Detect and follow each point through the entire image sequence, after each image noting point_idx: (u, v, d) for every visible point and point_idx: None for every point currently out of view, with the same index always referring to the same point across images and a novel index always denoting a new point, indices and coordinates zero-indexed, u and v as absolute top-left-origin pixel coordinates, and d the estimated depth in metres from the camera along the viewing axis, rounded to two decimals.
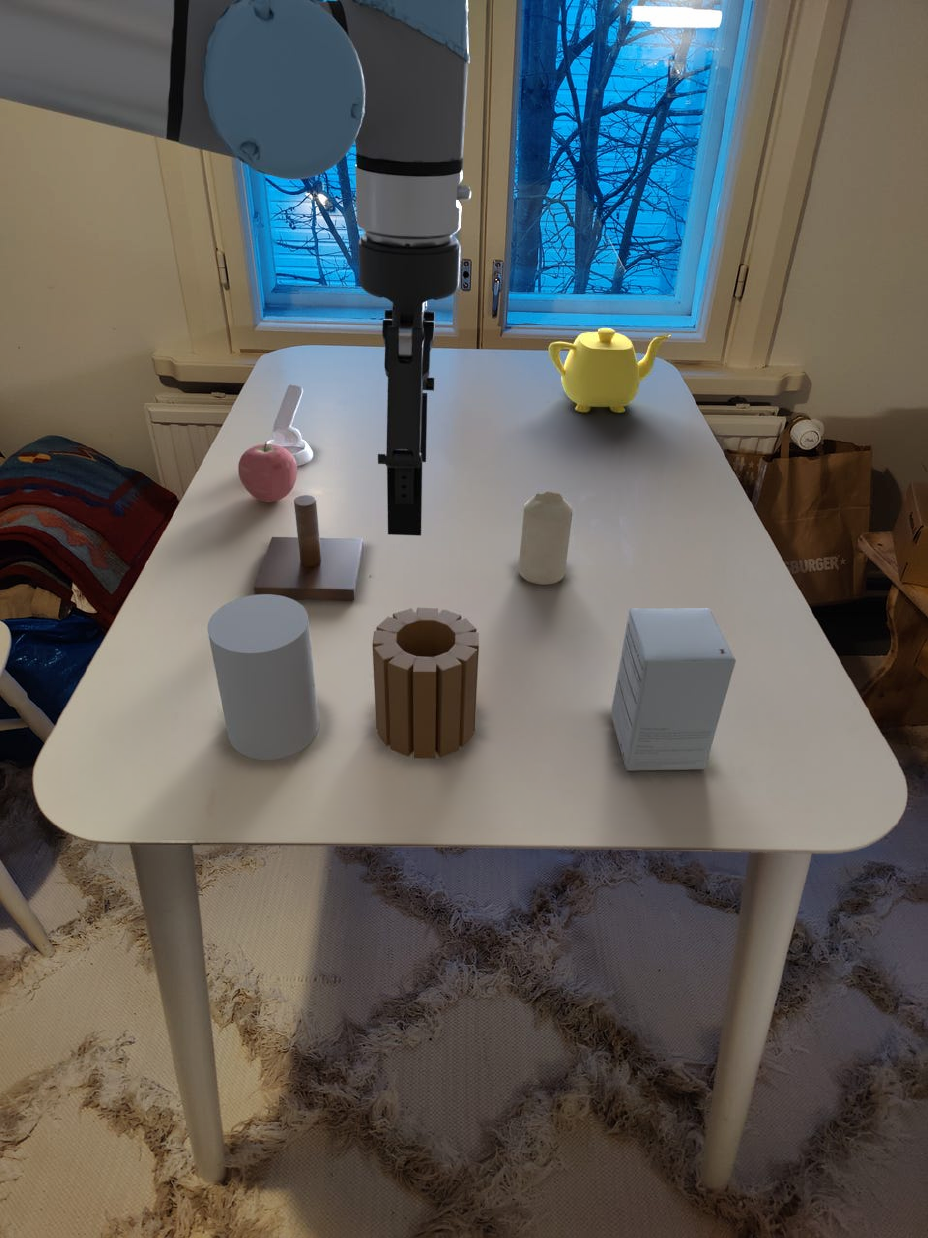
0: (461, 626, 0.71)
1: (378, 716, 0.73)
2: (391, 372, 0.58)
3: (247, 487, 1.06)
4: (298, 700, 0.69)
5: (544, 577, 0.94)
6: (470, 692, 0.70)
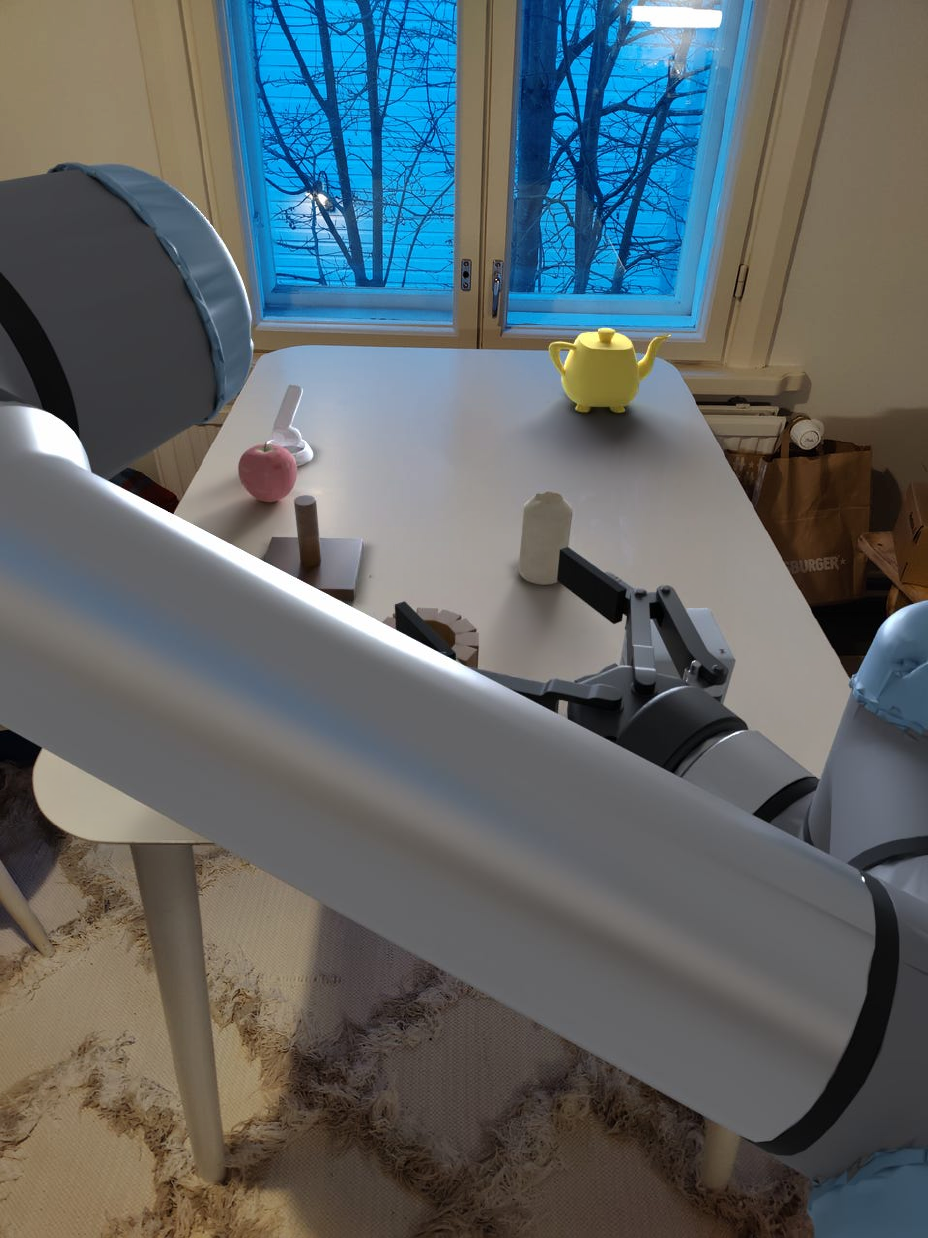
0: (461, 626, 0.71)
1: None
2: None
3: (247, 487, 1.06)
4: None
5: (544, 576, 0.94)
6: None
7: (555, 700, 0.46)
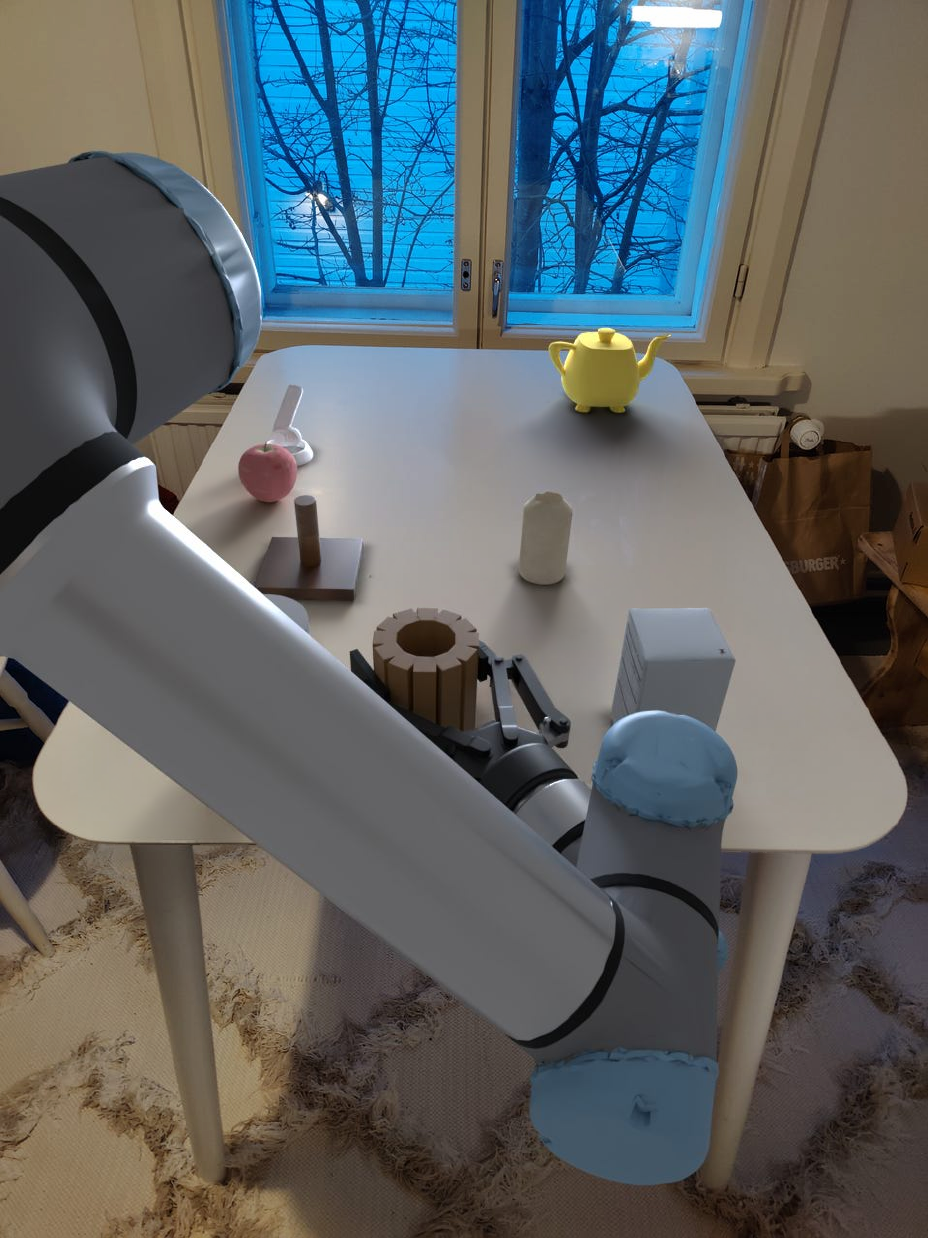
0: (461, 626, 0.71)
1: None
2: None
3: (247, 487, 1.06)
4: None
5: (544, 577, 0.94)
6: (470, 692, 0.70)
7: (445, 742, 0.64)
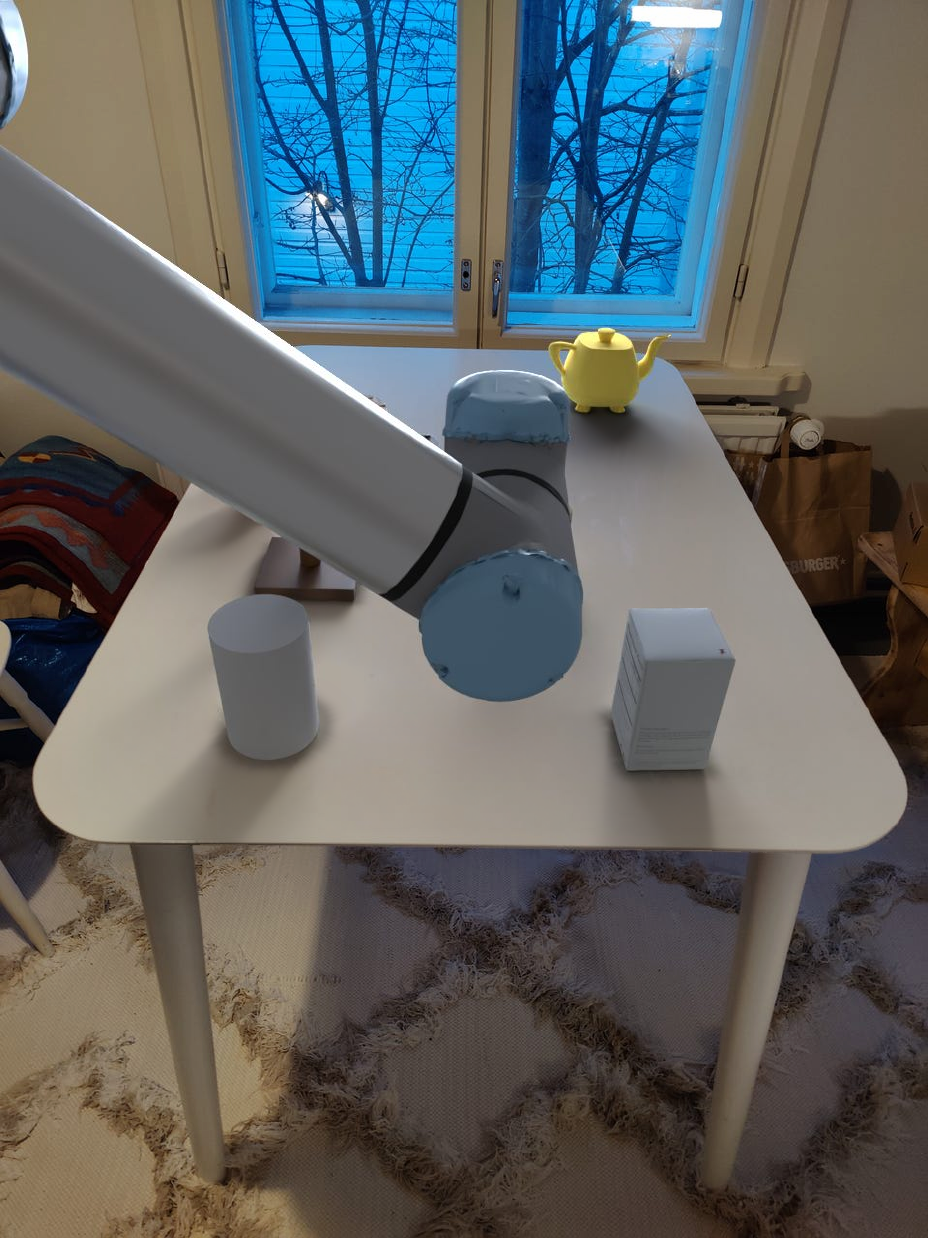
0: None
1: None
2: None
3: None
4: (298, 700, 0.69)
5: None
6: None
7: None
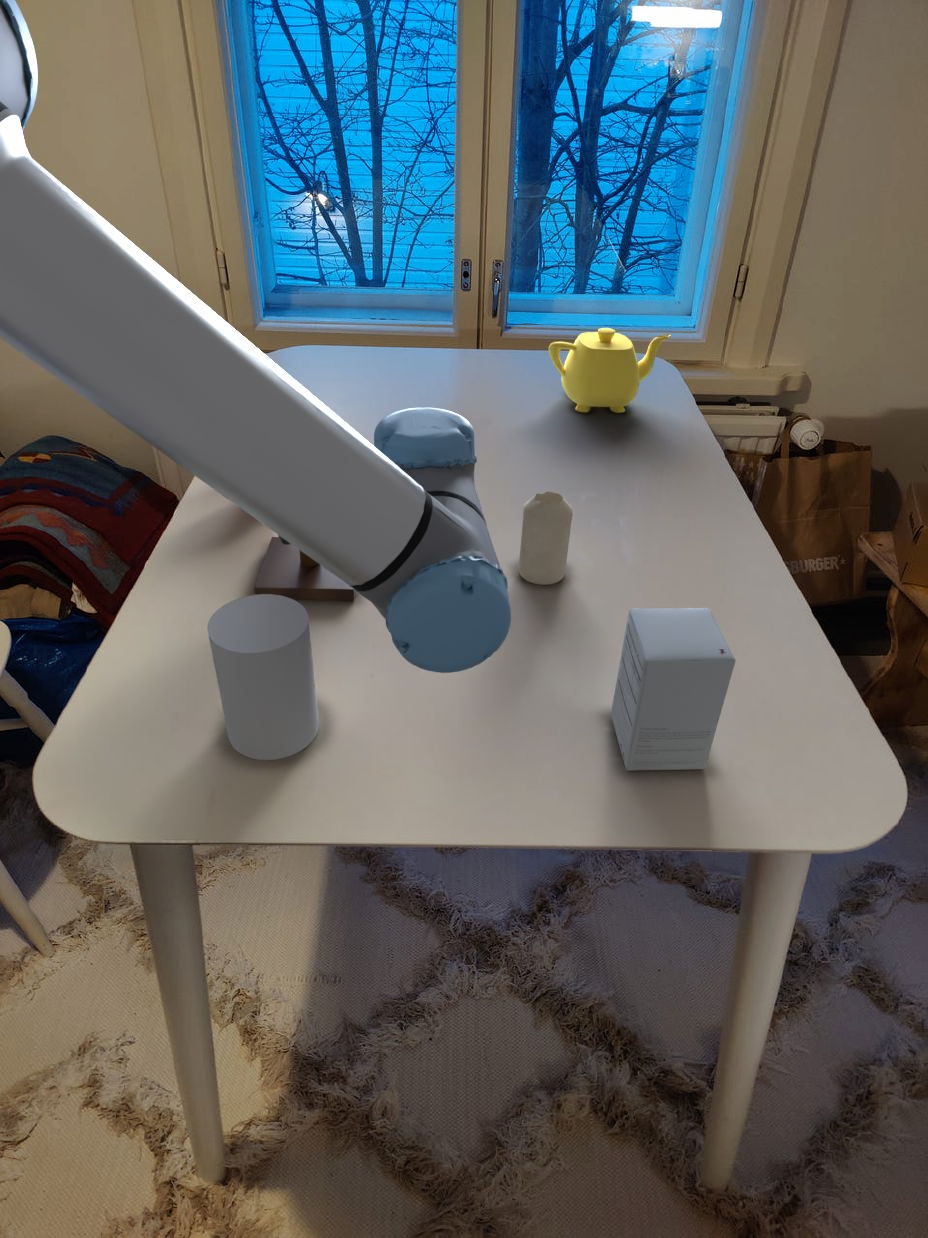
0: None
1: None
2: None
3: None
4: (298, 700, 0.69)
5: (544, 577, 0.94)
6: None
7: None
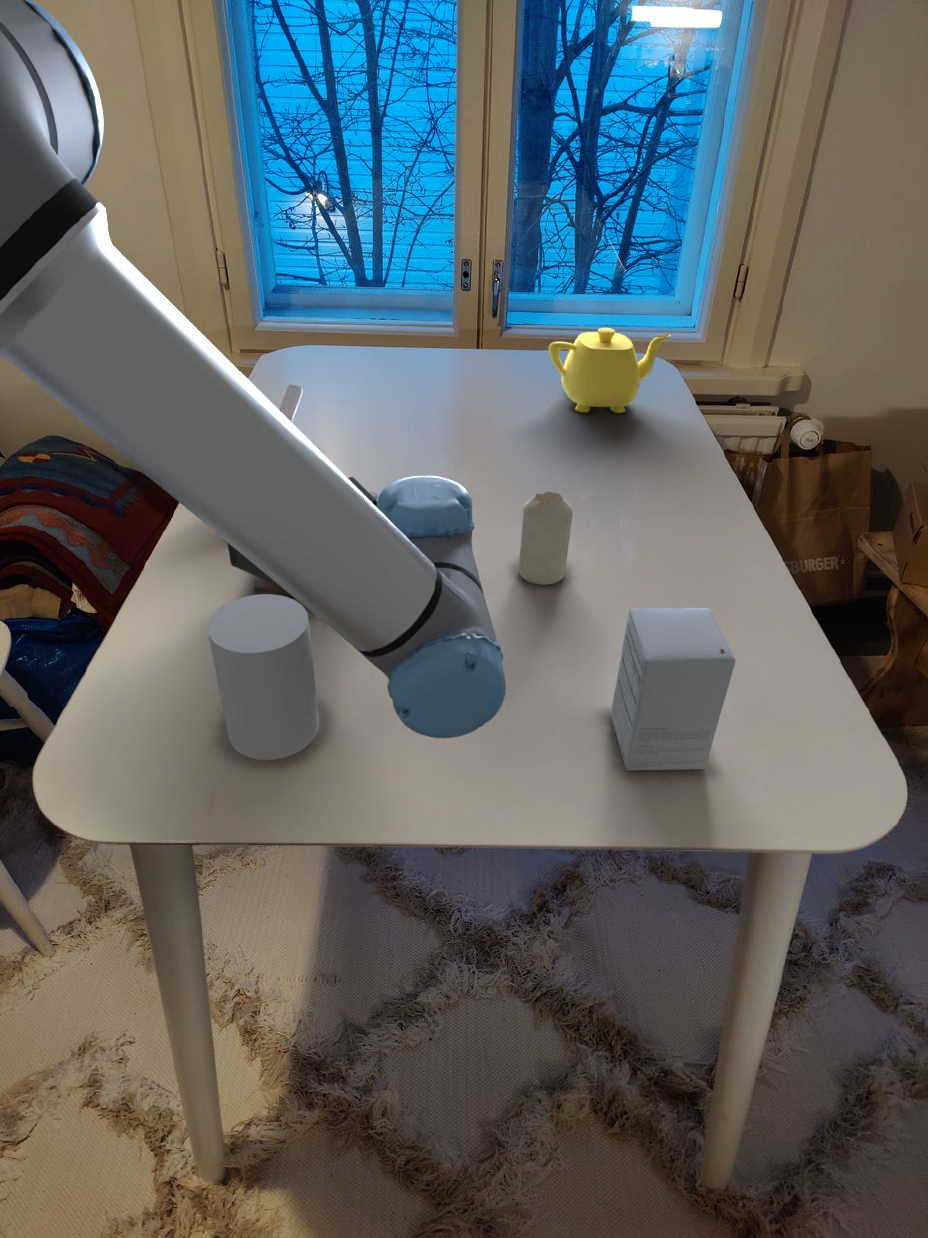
0: None
1: None
2: None
3: None
4: (298, 700, 0.69)
5: (544, 576, 0.94)
6: None
7: None
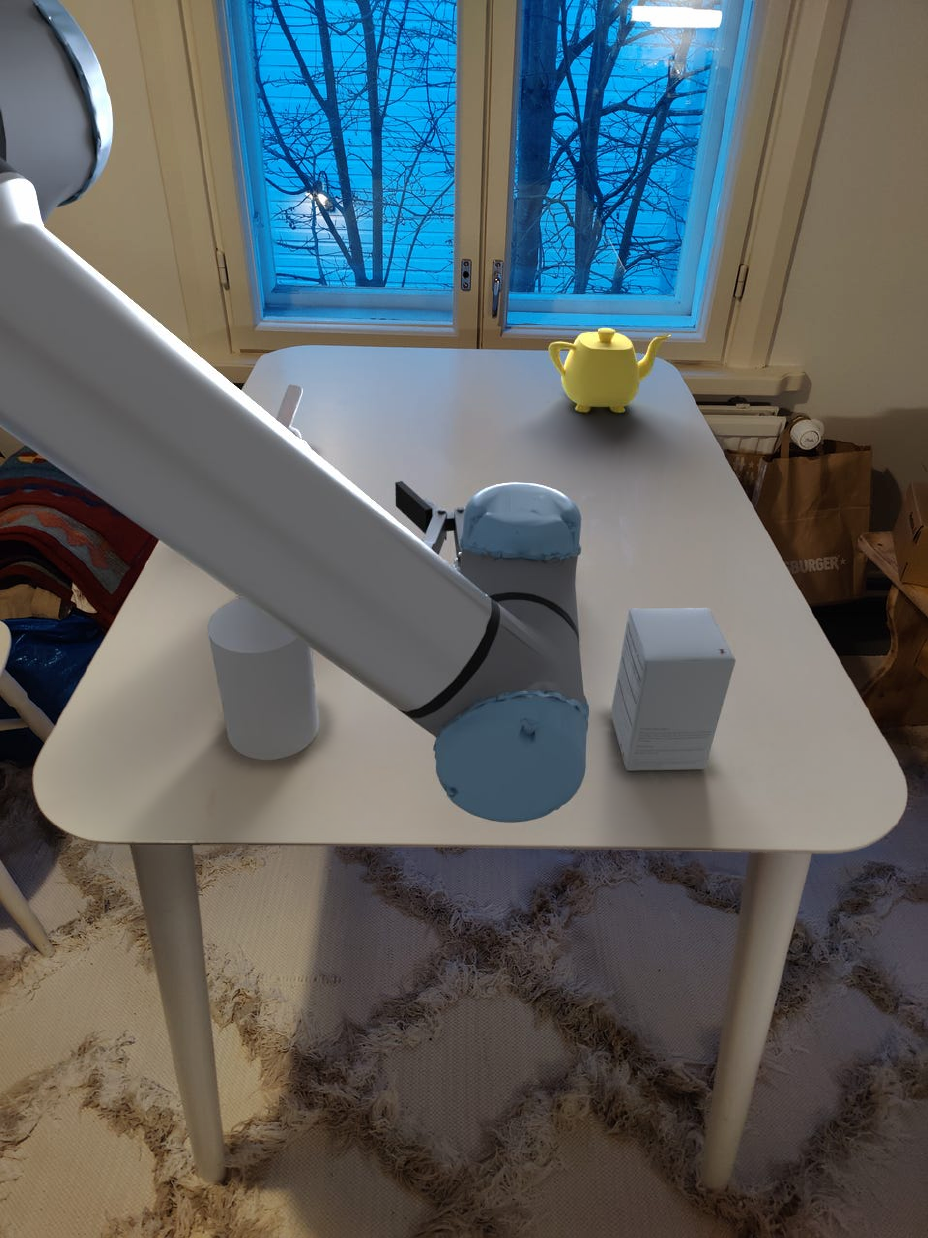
0: None
1: None
2: None
3: None
4: (298, 700, 0.69)
5: None
6: None
7: None
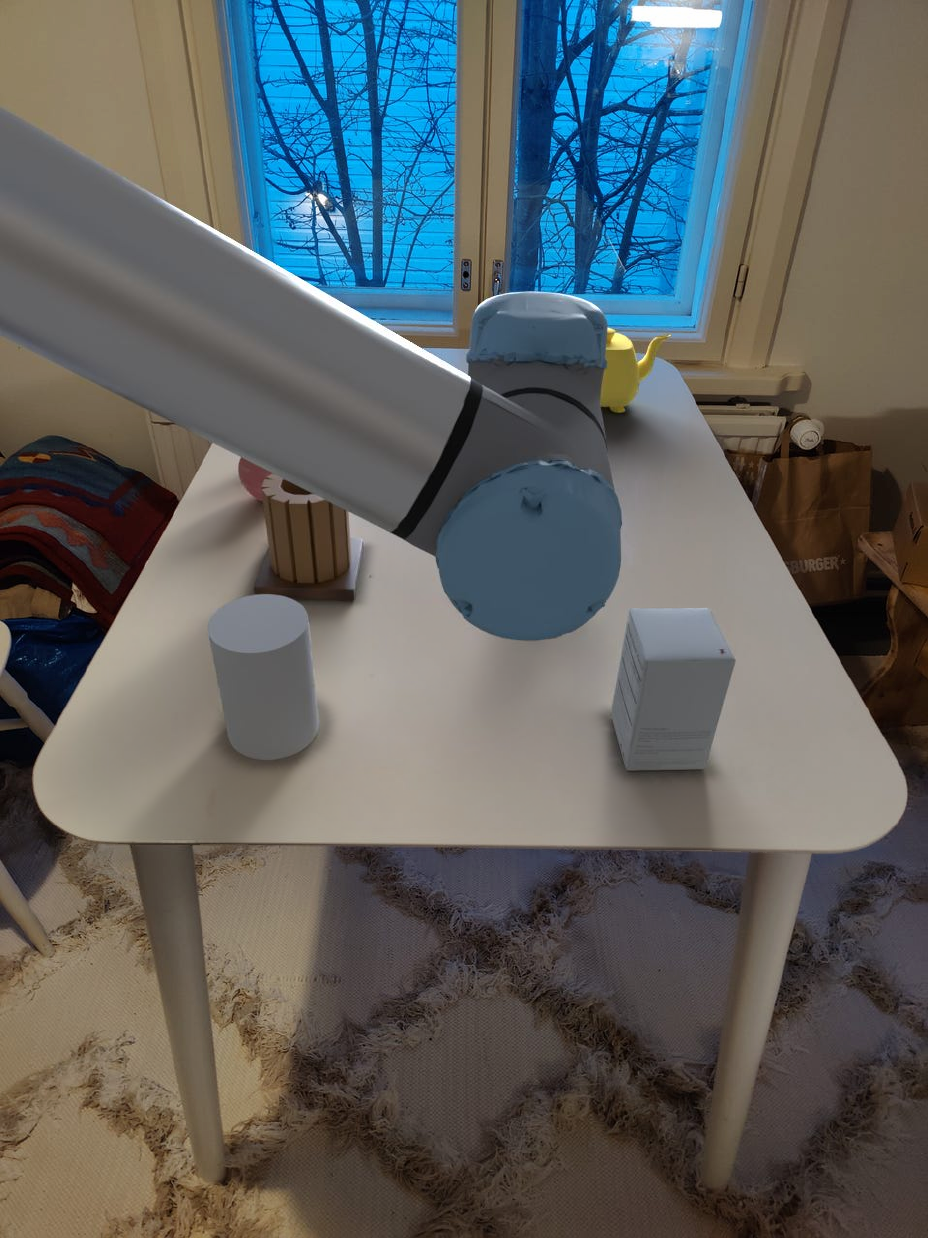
0: None
1: (270, 550, 0.92)
2: None
3: (247, 487, 1.06)
4: (298, 700, 0.69)
5: None
6: (340, 528, 0.89)
7: None
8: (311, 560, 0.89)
